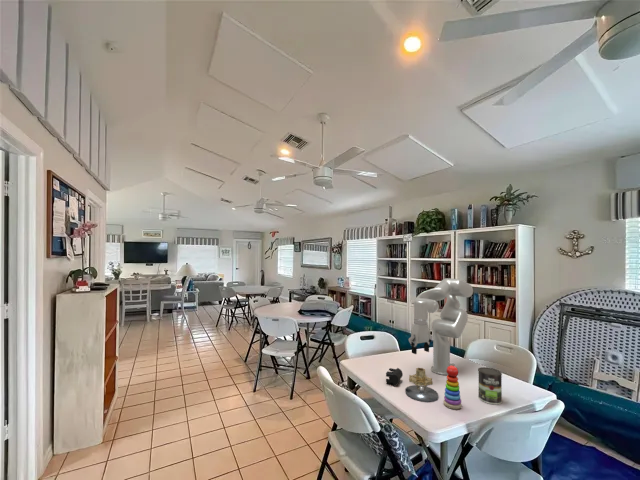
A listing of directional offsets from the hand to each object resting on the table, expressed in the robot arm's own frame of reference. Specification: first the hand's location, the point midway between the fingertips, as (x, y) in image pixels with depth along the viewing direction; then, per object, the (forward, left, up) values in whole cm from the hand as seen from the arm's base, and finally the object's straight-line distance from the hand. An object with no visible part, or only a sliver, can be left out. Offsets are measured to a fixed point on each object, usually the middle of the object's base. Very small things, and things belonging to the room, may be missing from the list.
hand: (420, 352), depth 169 cm
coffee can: (-15, +31, -16) cm, 38 cm away
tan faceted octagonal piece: (0, 0, -16) cm, 16 cm away
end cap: (+15, -5, -16) cm, 23 cm away
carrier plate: (+12, +12, -16) cm, 23 cm away
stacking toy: (+7, +27, -16) cm, 32 cm away
